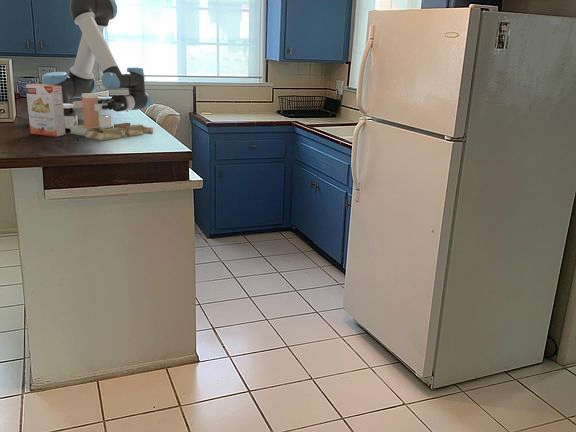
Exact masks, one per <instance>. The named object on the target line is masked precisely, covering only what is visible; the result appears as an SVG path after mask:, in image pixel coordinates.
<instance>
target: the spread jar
mask: <svg viewBox="0 0 576 432" xmlns="http://www.w3.org/2000/svg"><path fill="white" fill-rule="evenodd" d="M63 109H64V121H65V133H68V132H69V133H71V132H70V127H72V126H79V125H78V124H79V121H78V119H79V117H78V113H77V111H76V109H75V108H73V103H70V104H63Z"/></svg>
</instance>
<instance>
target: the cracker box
mask: <svg viewBox="0 0 576 432" xmlns="http://www.w3.org/2000/svg"><path fill="white" fill-rule="evenodd" d="M25 90H26V91H25V92H26V101H27V112H28V120H29V121H28V122H29V130H30V134H31V135H38V136H39V135H40V136H48V137H55V138H56V137H57V138H58V137H62V136H66V134H67V132H65V121H64V109H63V97H62V86H55V85H45V84H42V83H28V84H25Z"/></svg>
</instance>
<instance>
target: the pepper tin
mask: <svg viewBox="0 0 576 432" xmlns="http://www.w3.org/2000/svg"><path fill="white" fill-rule="evenodd" d="M111 117H112V116H111V115H108V114H107V115H105V114H102V115H100V114H99V116H98V120H99V133H103V129H111V126H112V118H111Z"/></svg>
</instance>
